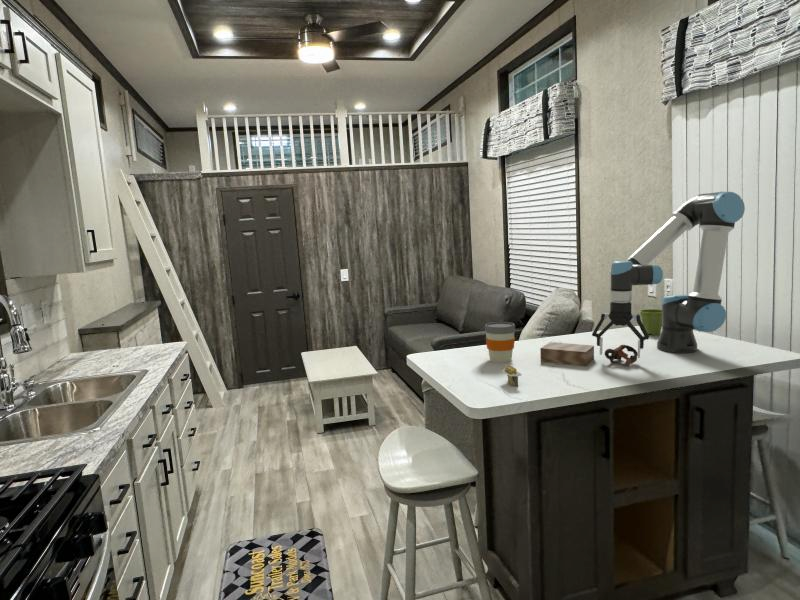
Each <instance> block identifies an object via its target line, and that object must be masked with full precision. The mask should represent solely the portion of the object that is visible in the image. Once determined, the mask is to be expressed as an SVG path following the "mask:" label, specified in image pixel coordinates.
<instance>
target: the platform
mask: <svg viewBox="0 0 800 600" xmlns="http://www.w3.org/2000/svg"><path fill="white" fill-rule="evenodd" d="M517 370H518V369H517V368H515V367H514V366H513V365H510V364H509V365H508V366H507V365H505V366H504V368H503V369H501V372H502V373H504V374H506V376H507V381H508V380H509V381H510V382H509V381H508V382H509V384H510V386H511V385H515V386H516V387H517V386H518V387H519V377H522V373H520V372H518V371H517Z"/></svg>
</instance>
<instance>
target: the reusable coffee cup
mask: <svg viewBox="0 0 800 600" xmlns="http://www.w3.org/2000/svg"><path fill="white" fill-rule="evenodd" d="M515 332H516V325H515V323H513V322H509V321H495V322H493V321H492V322H488V323H485V325H484V333H485V343H486V349H487V350H488V356H489V360H491V362H493V361H496V362H495V363H507V362H506V361H509V362H511V361H512V357H513V350H514V348H515V341H516V337H515ZM510 360H511V361H510Z"/></svg>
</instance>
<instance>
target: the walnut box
mask: <svg viewBox="0 0 800 600" xmlns="http://www.w3.org/2000/svg"><path fill="white" fill-rule="evenodd" d="M594 359H595V346H594V345H593V344H591V345H590V344H581V343H580V344H579V343H568V342H567V343H565V342H553V341H550V342H548V343H546V344H545V345H543V346H542V347H540V363H549V362H550V364H559V365H560V364H561V365H570V366H577V365H578V366H577V367H579V366H581V367H587V366H588V365H589V364H590V363H592V362H593V361H594ZM592 360H593V361H592Z"/></svg>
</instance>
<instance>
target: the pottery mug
mask: <svg viewBox="0 0 800 600" xmlns="http://www.w3.org/2000/svg"><path fill="white" fill-rule="evenodd" d="M624 349H626V351H627V352H631V353H633V355H630V357H628V356H629V355H628V354H627V353H626V352H625V351H624ZM604 355H605V357H606V359H607V360H609V362H610V363H613V362H614V360H616V361H617V360H618V361H621V360H622V359H624V360H625V362H624V366H625V367H630V366H631V365H632V364H633V363H635V362H636V361H638V350H636V349H635V348H634V347H632V346H630V345H628V344H620V345H619V346H617V347H615V348H614V349H613V348H607V349H605V351H604Z"/></svg>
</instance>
